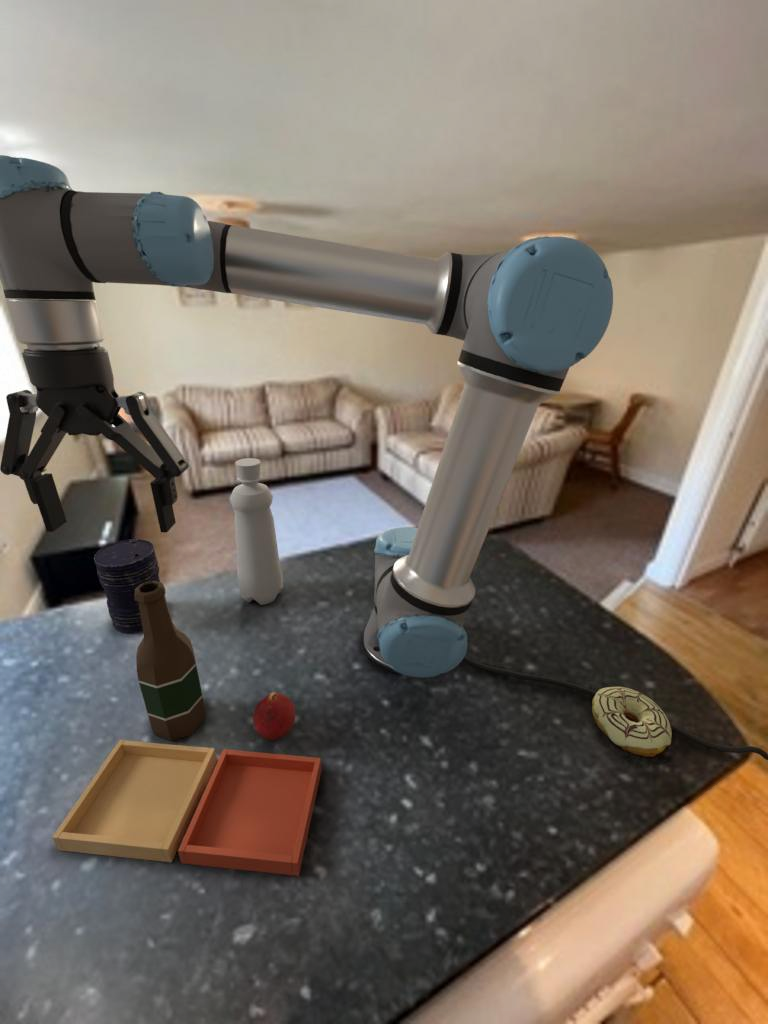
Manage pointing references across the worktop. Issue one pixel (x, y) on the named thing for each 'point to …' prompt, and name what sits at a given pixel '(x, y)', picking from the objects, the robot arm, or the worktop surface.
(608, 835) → the worktop surface
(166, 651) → the beer bottle
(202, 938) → the worktop surface
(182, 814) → the birch tray
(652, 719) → the decorated donut
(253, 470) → the bottle
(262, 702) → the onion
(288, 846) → the terracotta tray
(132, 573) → the storage jar
